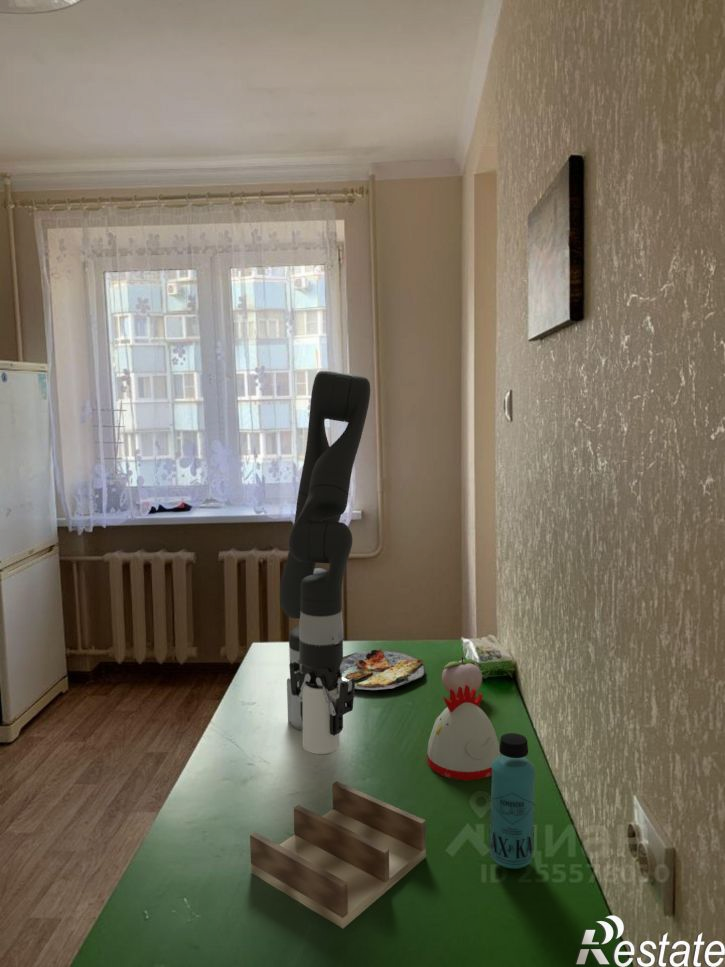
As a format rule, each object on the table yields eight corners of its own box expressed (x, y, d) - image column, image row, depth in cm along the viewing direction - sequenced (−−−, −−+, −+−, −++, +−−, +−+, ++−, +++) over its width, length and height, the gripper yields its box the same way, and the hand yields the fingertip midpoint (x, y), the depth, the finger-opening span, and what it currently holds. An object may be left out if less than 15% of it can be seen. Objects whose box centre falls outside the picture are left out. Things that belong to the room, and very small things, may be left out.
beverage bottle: (484, 852, 111) (485, 728, 109) (526, 849, 112) (528, 726, 109) (495, 881, 105) (496, 749, 102) (540, 877, 105) (542, 746, 103)
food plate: (379, 650, 199) (379, 638, 198) (443, 675, 182) (443, 661, 181) (307, 678, 182) (306, 664, 182) (371, 707, 165) (370, 692, 165)
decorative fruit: (458, 710, 161) (458, 667, 160) (436, 697, 168) (436, 655, 167) (490, 701, 166) (491, 658, 165) (468, 688, 173) (468, 648, 172)
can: (334, 758, 124) (334, 691, 123) (297, 753, 126) (297, 687, 124) (343, 740, 131) (343, 676, 129) (309, 735, 132) (308, 672, 130)
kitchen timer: (414, 752, 143) (414, 679, 141) (474, 738, 148) (474, 667, 146) (451, 787, 130) (451, 707, 128) (515, 770, 136) (516, 693, 134)
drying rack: (251, 872, 107) (249, 835, 107) (337, 814, 122) (336, 781, 121) (343, 928, 96) (342, 886, 95) (425, 857, 110) (425, 820, 110)
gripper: (276, 631, 127) (277, 721, 130) (336, 651, 118) (336, 748, 120) (307, 621, 133) (308, 707, 135) (366, 639, 123) (366, 732, 126)
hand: (321, 726), depth 128 cm, fingers closed on can, 6 cm apart
